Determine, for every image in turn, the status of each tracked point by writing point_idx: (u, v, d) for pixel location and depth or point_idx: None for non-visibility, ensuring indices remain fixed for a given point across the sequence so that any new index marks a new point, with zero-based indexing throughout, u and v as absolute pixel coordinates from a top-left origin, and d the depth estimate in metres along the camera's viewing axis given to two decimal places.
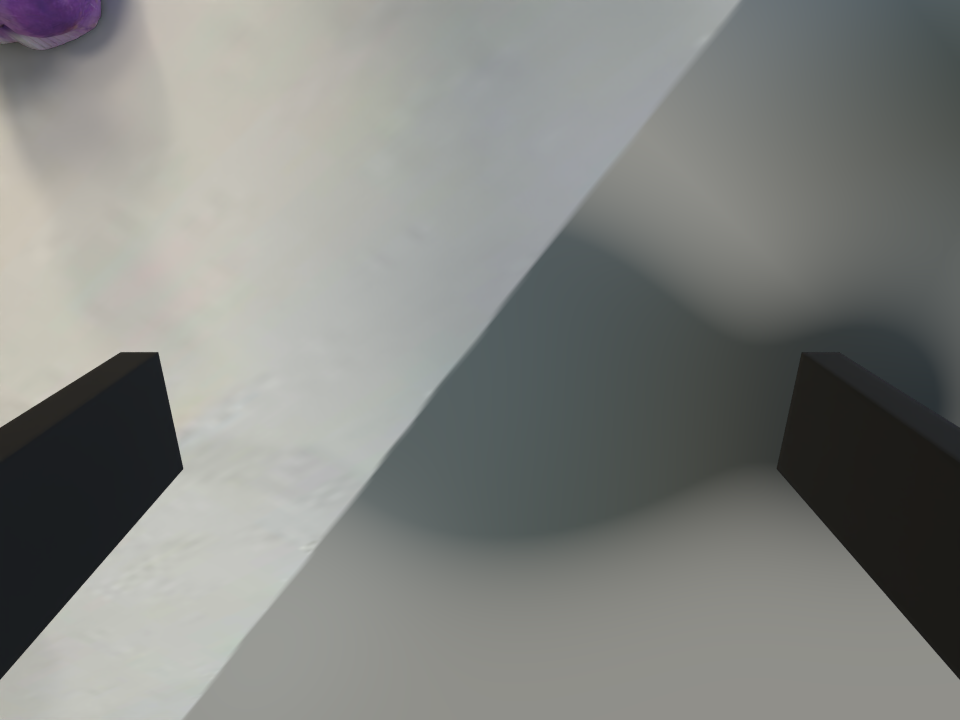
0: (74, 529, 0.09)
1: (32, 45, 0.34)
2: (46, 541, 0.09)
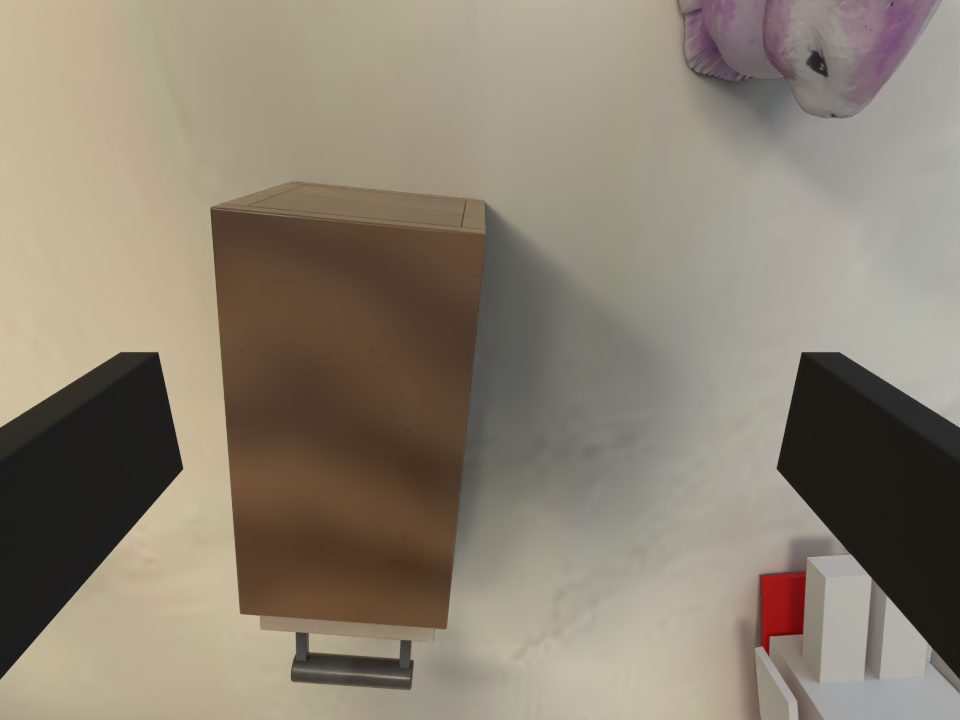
0: (74, 529, 0.09)
1: None
2: (47, 541, 0.09)
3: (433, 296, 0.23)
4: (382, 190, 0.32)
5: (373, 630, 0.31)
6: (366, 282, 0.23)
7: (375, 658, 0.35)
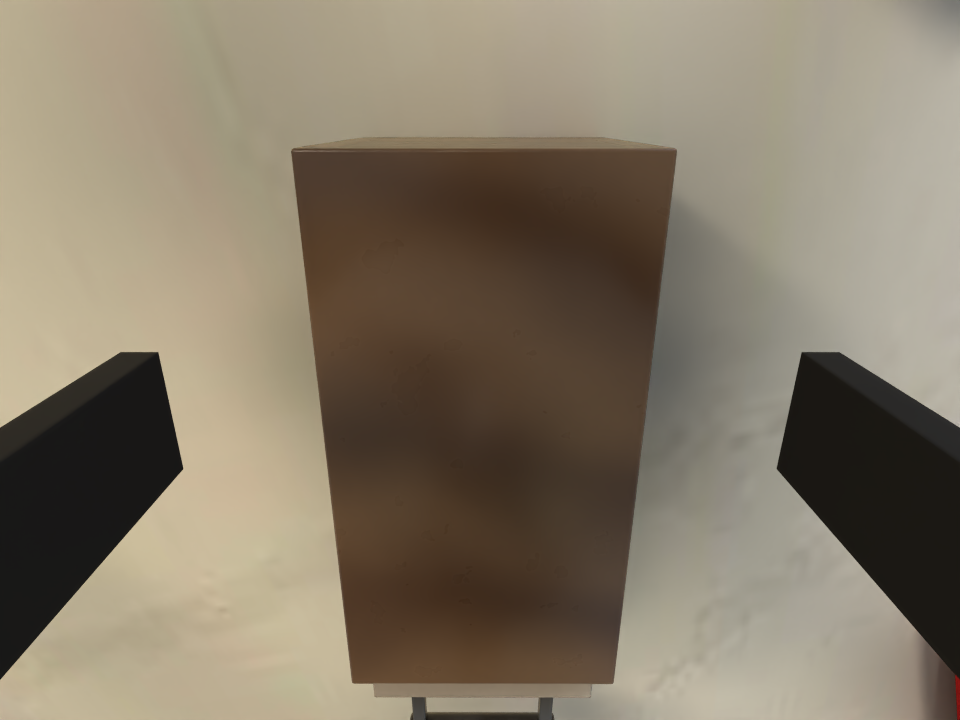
0: (74, 529, 0.09)
1: None
2: (46, 541, 0.09)
3: (601, 247, 0.17)
4: None
5: (514, 689, 0.25)
6: (509, 236, 0.17)
7: (507, 714, 0.29)
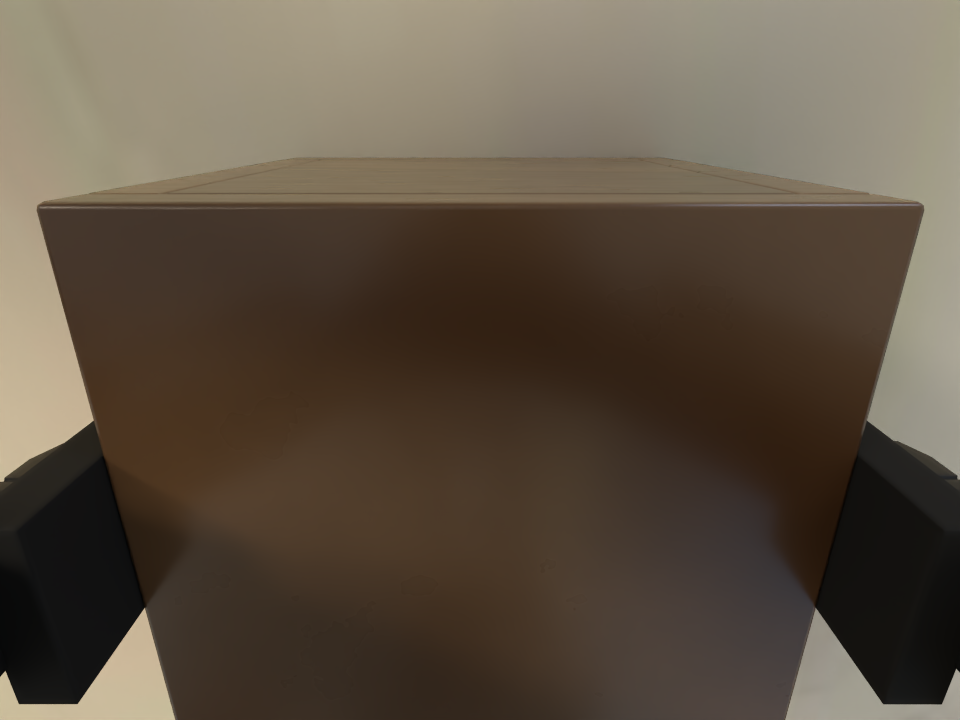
0: None
1: None
2: None
3: (735, 407, 0.08)
4: None
5: None
6: (535, 386, 0.08)
7: None
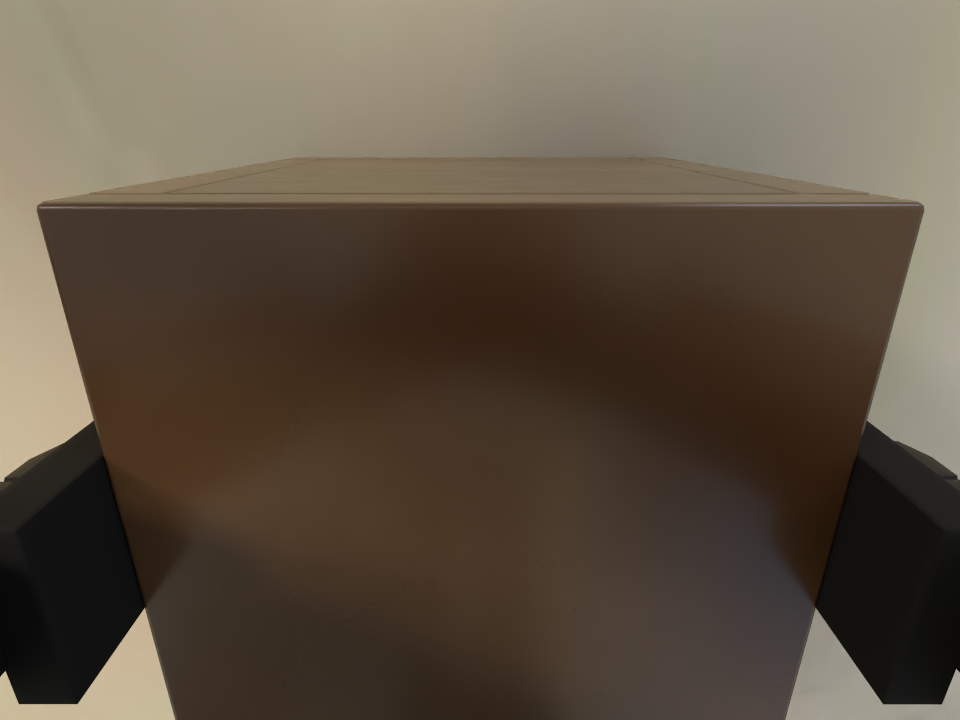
0: None
1: None
2: None
3: (734, 408, 0.08)
4: None
5: None
6: (535, 387, 0.08)
7: None
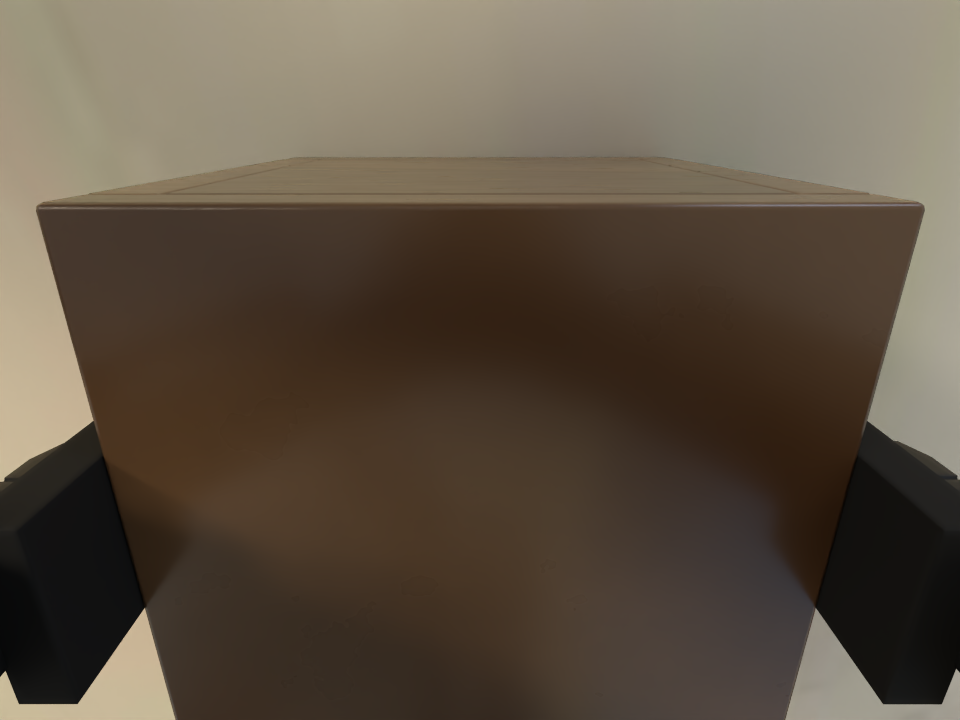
0: None
1: None
2: None
3: (734, 407, 0.08)
4: None
5: None
6: (535, 387, 0.08)
7: None
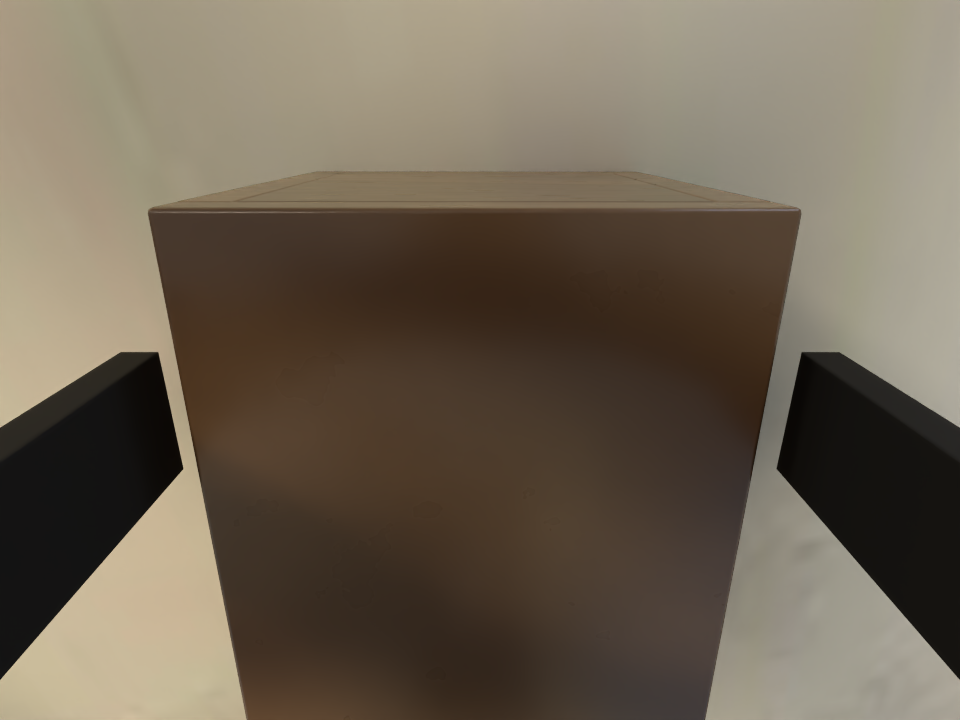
0: (74, 529, 0.09)
1: None
2: (46, 541, 0.09)
3: (669, 364, 0.10)
4: None
5: None
6: (517, 347, 0.10)
7: None
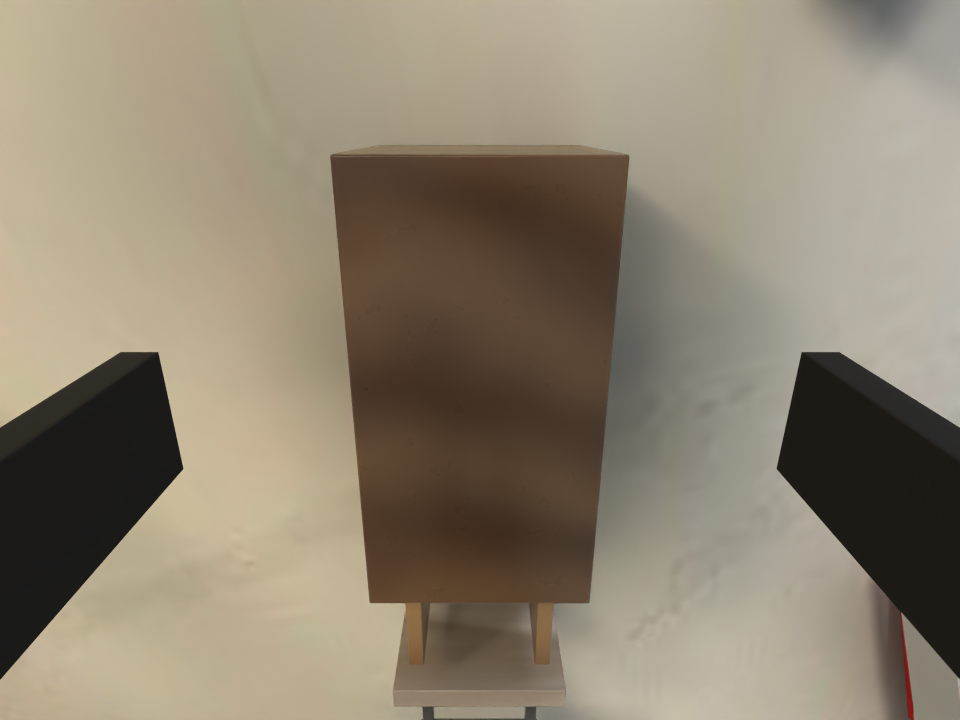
0: (74, 529, 0.09)
1: None
2: (47, 541, 0.09)
3: (572, 231, 0.21)
4: (473, 145, 0.30)
5: (504, 700, 0.31)
6: (499, 223, 0.21)
7: None
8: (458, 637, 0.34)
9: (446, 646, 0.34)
